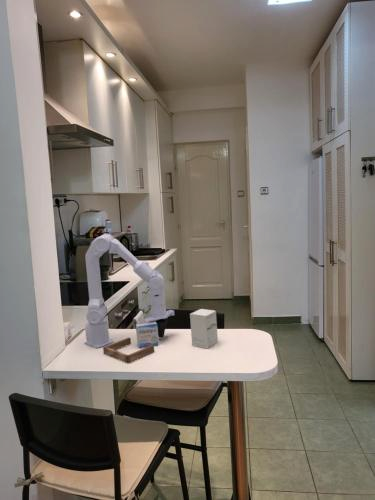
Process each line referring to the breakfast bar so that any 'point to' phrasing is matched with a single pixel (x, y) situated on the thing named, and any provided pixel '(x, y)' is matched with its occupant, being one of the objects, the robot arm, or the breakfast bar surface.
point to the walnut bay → (112, 352)
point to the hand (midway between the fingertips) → (161, 337)
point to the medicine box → (147, 334)
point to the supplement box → (203, 328)
